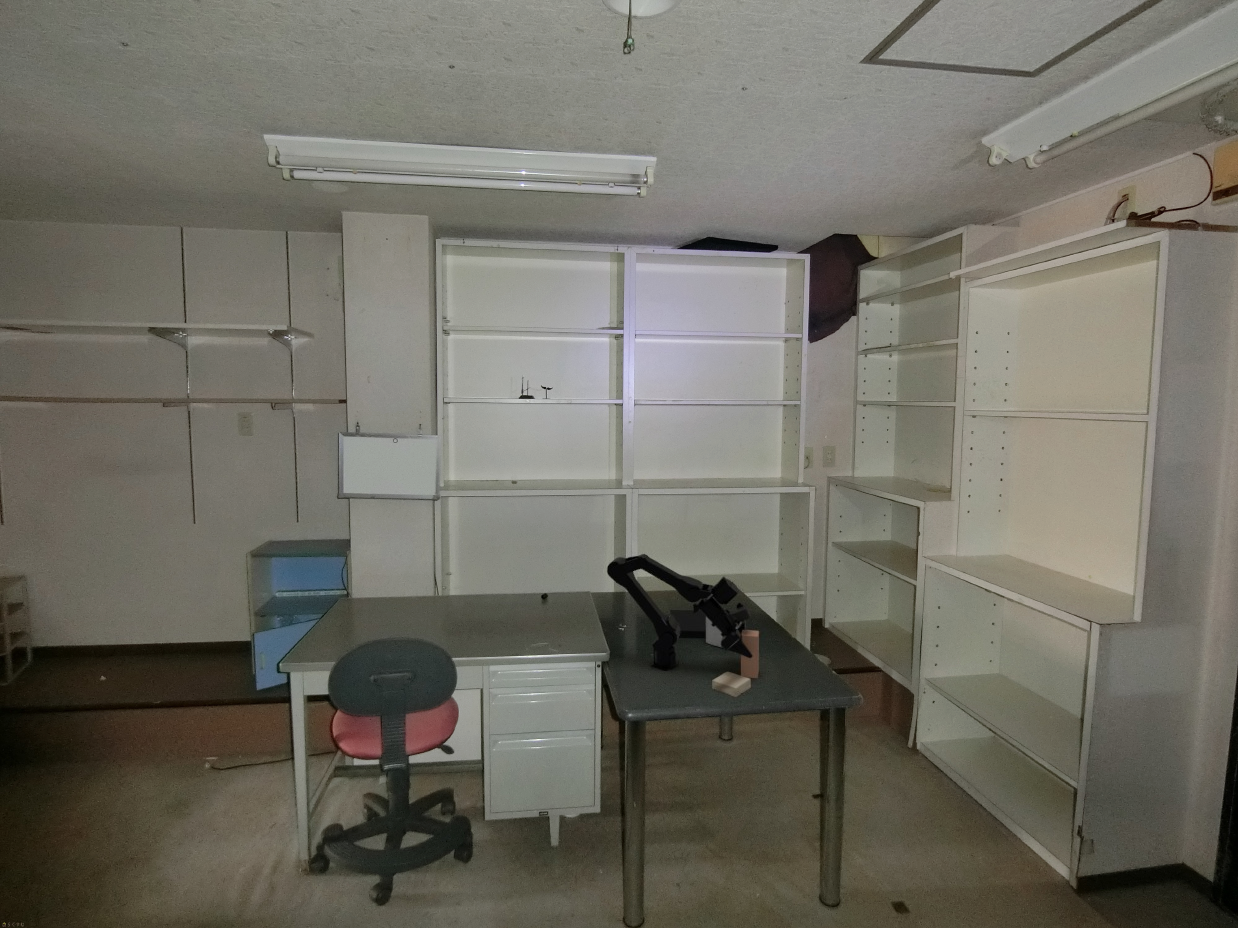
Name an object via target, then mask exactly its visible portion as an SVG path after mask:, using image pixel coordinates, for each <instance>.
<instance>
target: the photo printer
mask: <svg viewBox="0 0 1238 928" xmlns="http://www.w3.org/2000/svg"><path fill="white" fill-rule="evenodd" d="M711 624H712V622H711V621H710V620H709V619H708V618H707V617H706V638H705V642H706V644H709V645H712V646H714V647H715V646H716V647H719V648H722V647H721V640H722V635H721V631H720V630H719V629H718V628H717V627H716V626H714V627H713V626H712V625H711Z"/></svg>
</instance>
